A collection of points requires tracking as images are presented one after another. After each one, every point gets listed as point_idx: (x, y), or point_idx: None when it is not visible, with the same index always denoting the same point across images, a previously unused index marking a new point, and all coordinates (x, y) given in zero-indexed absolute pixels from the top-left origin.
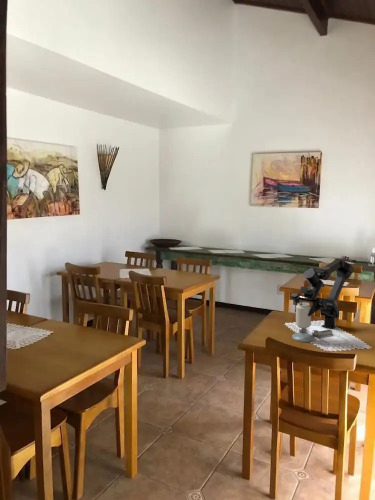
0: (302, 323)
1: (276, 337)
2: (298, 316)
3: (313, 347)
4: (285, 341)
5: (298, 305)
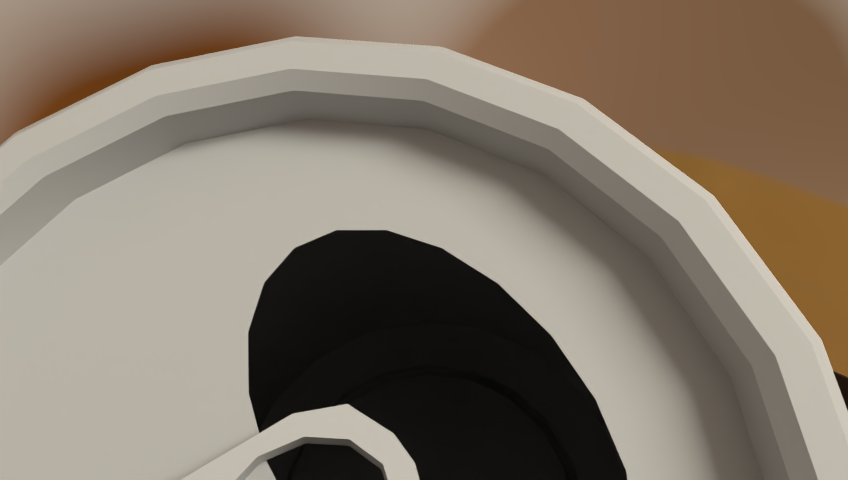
0: (301, 338)
1: (724, 170)
2: (397, 241)
3: None
4: None
5: (436, 103)
